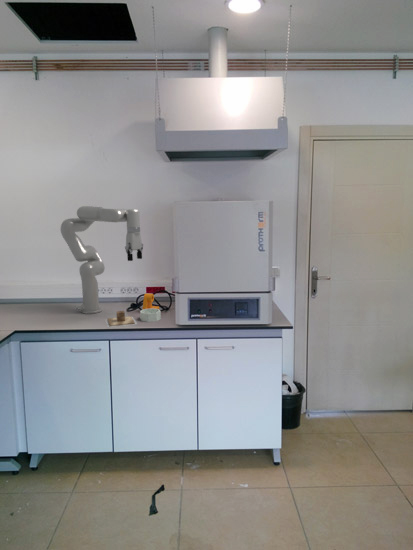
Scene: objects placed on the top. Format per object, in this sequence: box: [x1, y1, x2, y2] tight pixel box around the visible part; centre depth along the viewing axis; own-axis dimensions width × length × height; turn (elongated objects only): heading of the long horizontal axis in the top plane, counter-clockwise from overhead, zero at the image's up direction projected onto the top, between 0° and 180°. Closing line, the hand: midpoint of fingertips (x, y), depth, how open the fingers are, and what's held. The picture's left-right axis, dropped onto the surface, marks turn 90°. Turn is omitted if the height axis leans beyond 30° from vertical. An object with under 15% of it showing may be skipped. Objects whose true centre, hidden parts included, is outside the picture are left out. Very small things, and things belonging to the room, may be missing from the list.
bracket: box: [141, 292, 160, 310], centre depth 239 cm, size 11×7×12 cm, turn 166°
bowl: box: [139, 308, 162, 323], centre depth 223 cm, size 11×11×6 cm
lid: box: [107, 310, 135, 328], centre depth 217 cm, size 14×14×6 cm
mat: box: [104, 316, 138, 328], centre depth 218 cm, size 16×16×1 cm
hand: (135, 259), depth 226 cm, fingers open, 9 cm apart
